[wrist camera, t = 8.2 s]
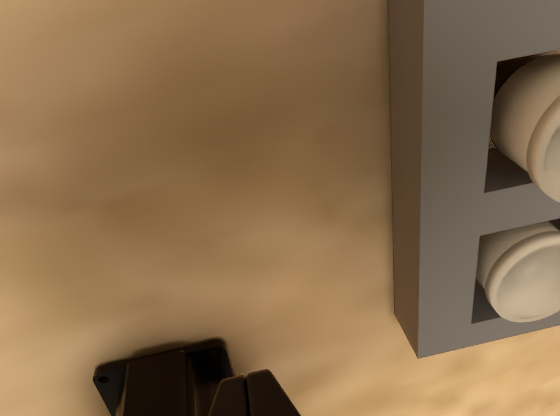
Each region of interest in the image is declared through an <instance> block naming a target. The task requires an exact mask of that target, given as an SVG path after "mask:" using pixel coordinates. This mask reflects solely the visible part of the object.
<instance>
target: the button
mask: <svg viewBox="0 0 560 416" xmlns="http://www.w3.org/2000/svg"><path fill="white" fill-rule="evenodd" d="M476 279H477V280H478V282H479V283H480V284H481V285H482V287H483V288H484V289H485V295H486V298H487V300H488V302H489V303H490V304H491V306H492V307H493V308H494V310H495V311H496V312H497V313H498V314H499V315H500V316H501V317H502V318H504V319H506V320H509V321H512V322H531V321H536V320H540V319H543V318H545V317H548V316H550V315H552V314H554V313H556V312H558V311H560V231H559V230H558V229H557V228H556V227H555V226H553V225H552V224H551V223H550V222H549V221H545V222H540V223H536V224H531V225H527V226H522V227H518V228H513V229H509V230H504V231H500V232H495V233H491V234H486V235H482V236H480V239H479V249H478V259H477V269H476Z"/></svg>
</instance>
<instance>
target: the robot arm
mask: <svg viewBox="0 0 560 416" xmlns="http://www.w3.org/2000/svg"><path fill="white" fill-rule="evenodd" d="M214 350H218V351H214ZM93 382H94V384H95V386H96V388H97V389H98V391H99V393H100V395H101V397H102V399H103V401H104V402H105V404H106V406H107V408H108V410H109V412H110V414H111V415H112V416H301V415H300V414H299V412H298V411H297V409H296V408H295V406H294V405H293V403H292V402H291V400H290V399H289V397H288V396H287V395H286V393H285V392H284V390H283V389H282V387H281V386H280V384H279V383H278V381H277V380H276V378H275V377H274V375H273V374H272V373H271V371H269V370H267V369H264V370H260V371H256V372H251V373H249V374H247V375H246V378H245V376H243V375H239V376H235V374H234V370H233V367H232V363H231V360H230V357H229V353H228V350H227V346H226V344H225V343H224V342H223V341H220V340H214V341H209V342H205V343H201V344H196V345H192V346H188V347H183V348H179V349H174V350H170V351H166V352H161V353H157V354H153V355H148V356H144V357H139V358H135V359H131V360H126V361H122V362H117V363H113V364H109V365H104V366H101V367H98V368H97V369H96V370H95V372H94V376H93Z"/></svg>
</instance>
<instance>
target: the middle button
mask: <svg viewBox="0 0 560 416" xmlns="http://www.w3.org/2000/svg"><path fill="white" fill-rule="evenodd" d="M490 138H491V140H492V142H493V144H494V145H495V147H496V148H497V149H498V150H499V151H501V152H502V153H503V154H504V155H506V156H507V157H508V158H510V159H511V160H512V161H514V162H515V163H516V164H518V165H519V166H520V167H522V168H523V169H524V170H525V171H527V172H528V173H529V176H530V178H531V180H532V181H533V183H534V184H535V185H536V186H537V187H538V188H539V189H540V190H541V191H543V192H544V193H545V194H546V195H548V196H549V197H550V198H552V199H553V200H555V201H557V202H559V203H560V54H552V55H546V56H542V57H539V58H537V59H534V60H532V61H530V62H528V63H527V64H525V65H524V66H522V67H521V68H519V69H518V70H517V71H516V72H514V73H513V74H512V75H511V76H510V77H509V78H508V79H507V81H506V82H505V83H504V84H503V85H502V87H501V88H500V90H499V91H498V93H497V95H496V97H495V99H494V101H493V107H492V117H491V127H490Z"/></svg>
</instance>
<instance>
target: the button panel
mask: <svg viewBox="0 0 560 416" xmlns="http://www.w3.org/2000/svg"><path fill="white" fill-rule="evenodd" d="M388 10H389V60H390V110H391V160H392V211H393V261H394V311H395V316H396V318H397V320H398V322H399V323H400V325H401V327H402V329H403V331H404V333H405V335H406V337H407V339H408V341H409V343H410V345H411V346H412V348H413V350H414V352H415V354H416V356H417V358H418V359H419V358H423V357H428V356H432V355H436V354H440V353H444V352H449V351H453V350H457V349H461V348H465V347H470V346H474V345H478V344H482V343H486V342H491V341H495V340H499V339H503V338H507V337H512V336H516V335H520V334H524V333H529V332H533V331H537V330H541V329H545V328H550V327H554V326H558V325H560V311H558V312H556V313H554V314H552V315H550V316H548V317H545V318H543V319H540V320H536V321H531V322H512V321H509V320H506V319H504V318H502V317H501V316H500V315H499V314H498V313H497V312H496V311H495V310H494V308H493V307H492V306H491V304H490V303H489V302H488V300H487V298H486V295H485V289H484V288H483V287H482V285H481V284H480V283H479V282H478V280H477V279H476V269H477V259H478V249H479V239H480V236H482V235H486V234H491V233H495V232H500V231H504V230H509V229H513V228H518V227H522V226H527V225H531V224H536V223H540V222H545V221H549V222H550V223H551V224H552V225H553V226H555V227H556V228H557V229H558V230H559V231H560V203H559V202H557V201H555V200H553V199H552V198H550V197H549V196H548V195H546V194H545V193H544V192H543V191H541V190H540V189H539V188H538V187H537V186H536V185H535V184H534V183H533V181H532V180H531V178H530V176H529V173H528V172H527V171H525V170H524V169H523V168H522V167H520V166H519V165H518V164H516V163H515V162H514V161H512V160H511V159H510V158H508V157H507V156H506V155H504V154H503V153H502V152H501V151H499V150H498V149H494V150H489V151H488V148H489V137H490V127H491V117H492V107H493V97H494V87H495V77H496V67H497V62H498V61H503V60H508V59H513V58H518V57H523V56H528V55H533V54H538V53H543V52H548V51H553V50H558V49H560V0H388Z"/></svg>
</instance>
